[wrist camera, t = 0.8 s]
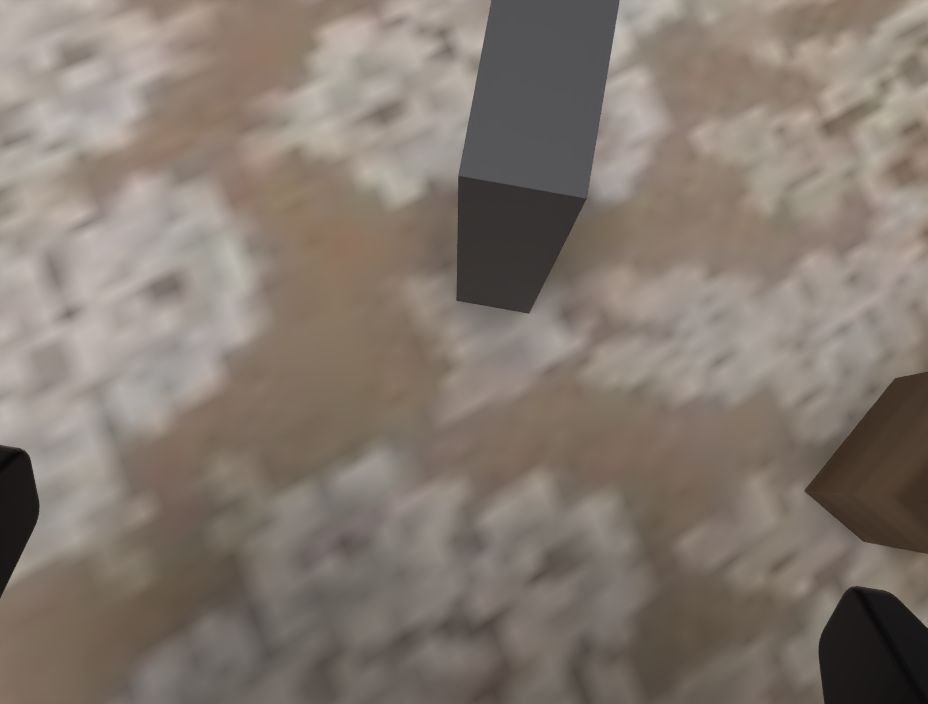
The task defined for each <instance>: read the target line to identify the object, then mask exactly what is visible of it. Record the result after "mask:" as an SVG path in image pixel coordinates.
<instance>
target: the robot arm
mask: <svg viewBox="0 0 928 704" xmlns="http://www.w3.org/2000/svg"><path fill="white" fill-rule="evenodd" d="M38 515H39V498H38V493H37V489H36V484H35V479H34V474H33V469H32V464H31V460H30V457H29V455H28V454H27V452H26V451H25V450H22V449H21V448H15V447H9V446H3V445H0V598H1V596H2V594H3V592H4V589H5V587H6V585H7V583H8V581H9V579H10V577H11V575H12V573H13V571H14V569H15V567H16V565H17V563H18V561H19V558H20V556H21V554H22V552H23V550H24V548H25V546H26V544H27V542H28V540H29V538H30V536H31V534H32V532H33V530H34V527H35V525H36V523H37V519H38ZM819 663H820V671H821V680H822V688H823V696H824V704H928V628H927V627H926V626H925V625H924V624H923V623H922V622H921V621H920V620H919V619H918V618H917V617H916V616H915V615H914V614H913V613H912V612H911V611H910V610H909V609H908V608H907V607H906V606H905V605H904V604H903V603H902V602H901V601H900V600H899V599H898V598H897V597H895V596H894V595H893V594H891V593H890V592H887V591H884V590H878V589H872V588H866V587H859V586H854V587H851V588H849V589H848V590H846V592H845V593H844V594H843V596H842V598H841V599H840V601H839V603H838V605H837V607H836V608H835V610H834V612H833V614H832V615H831V617H830V619H829V621H828V623H827V624H826V626H825V628H824V630H823V632H822V634H821V637H820V641H819Z"/></svg>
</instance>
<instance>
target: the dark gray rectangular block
mask: <svg viewBox="0 0 928 704" xmlns="http://www.w3.org/2000/svg"><path fill="white" fill-rule="evenodd" d="M618 7H619V0H491V6H490V11H489V16H488V22H487V27H486V32H485V38H484V43H483V48H482V54H481V59H480V64H479V70H478V75H477V80H476V85H475V91H474V96H473V101H472V107H471V112H470V117H469V123H468V128H467V133H466V139H465V144H464V149H463V155H462V160H461V165H460V171H459V179H458V244H457V301H463V302H468V303H474V304H480V305H485V306H491V307H496V308H502V309H507V310H513V311H519V312H524V313H529V312H530V310H531V308H532V306H533V304H534V302H535V300H536V298H537V296H538V294H539V292H540V290H541V288H542V286H543V284H544V282H545V280H546V278H547V276H548V274H549V272H550V270H551V268H552V266H553V264H554V262H555V260H556V258H557V256H558V255H559V253H560V251H561V249H562V247H563V245H564V243H565V241H566V239H567V237H568V235H569V233H570V231H571V229H572V227H573V225H574V223H575V221H576V219H577V217H578V215H579V213H580V211H581V209H582V207H583V205H584V203H585V201H586V199H587V193H588V187H589V181H590V175H591V169H592V163H593V157H594V151H595V145H596V139H597V133H598V127H599V121H600V115H601V109H602V103H603V97H604V91H605V85H606V79H607V73H608V67H609V61H610V55H611V49H612V43H613V37H614V31H615V25H616V19H617V13H618Z"/></svg>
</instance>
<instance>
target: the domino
mask: <svg viewBox="0 0 928 704" xmlns="http://www.w3.org/2000/svg"><path fill="white" fill-rule="evenodd" d="M805 492H806V493H807V494H809V495H810V496H811V497H812V498H813V499H814V500H816V501H817V502H818V503H819V504H820V505H821V506H823V507H824V508H825V509H826V510H827V511H829V512H830V513H831V514H832V515H833V516H834V517H836V518H837V519H838V520H839V521H840V522H841V523H843V524H844V525H845V526H846V527H847V528H848V529H850V530H851V531H852V532H853V533H854V534H856V535H857V536H858V537H859V538H860V539H861V540H863V541H864V542H868V543H874V544H879V545H884V546H889V547H895V548H900V549H905V550H910V551H916V552H921V553H926V554H928V372H925V373H920V374H915V375H910V376H905V377H899V378H895V379H894V381H893V382H892V383H891V384H890V386H889V387H888V388H887V389H886V391H885V392H884V393H883V394H882V396H881V397H880V398H879V399H878V400H877V402H876V403H875V404H874V405H873V407H872V408H871V409H870V410H869V412H868V413H867V414H866V415H865V417H864V418H863V419H862V420H861V422H860V423H859V424H858V425H857V426H856V428H855V429H854V430H853V431H852V433H851V434H850V435H849V436H848V438H847V439H846V440H845V441H844V443H843V444H842V445H841V446H840V448H839V449H838V450H837V451H836V453H835V454H834V455H833V456H832V457H831V459H830V460H829V461H828V462H827V464H826V465H825V466H824V467H823V469H822V470H821V471H820V472H819V474H818V475H817V476H816V477H815V479H814V480H813V481H812V482H811V483H810V485H809V486H808V487H807V488H806V490H805Z"/></svg>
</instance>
